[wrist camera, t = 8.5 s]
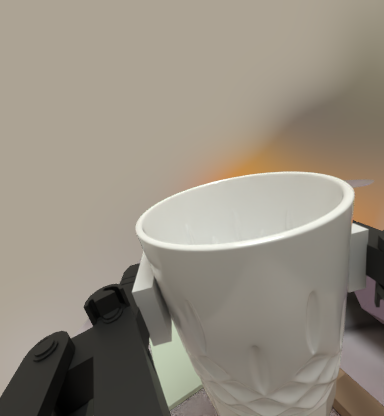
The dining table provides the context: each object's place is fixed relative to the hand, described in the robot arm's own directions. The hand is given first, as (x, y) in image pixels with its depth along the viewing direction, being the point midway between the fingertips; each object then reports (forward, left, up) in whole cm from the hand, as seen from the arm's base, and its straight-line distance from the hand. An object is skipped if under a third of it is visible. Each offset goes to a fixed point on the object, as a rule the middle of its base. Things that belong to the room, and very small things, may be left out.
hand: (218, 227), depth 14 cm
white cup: (+1, +5, -7) cm, 8 cm away
